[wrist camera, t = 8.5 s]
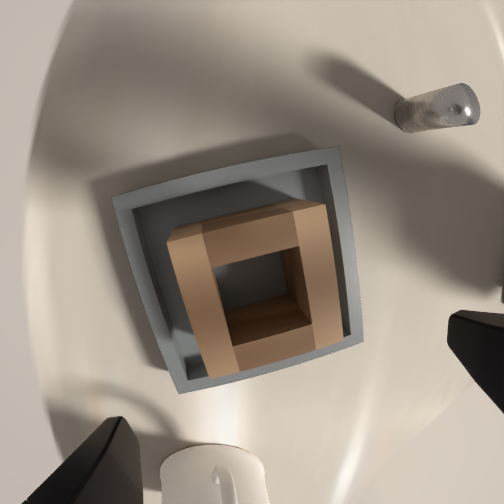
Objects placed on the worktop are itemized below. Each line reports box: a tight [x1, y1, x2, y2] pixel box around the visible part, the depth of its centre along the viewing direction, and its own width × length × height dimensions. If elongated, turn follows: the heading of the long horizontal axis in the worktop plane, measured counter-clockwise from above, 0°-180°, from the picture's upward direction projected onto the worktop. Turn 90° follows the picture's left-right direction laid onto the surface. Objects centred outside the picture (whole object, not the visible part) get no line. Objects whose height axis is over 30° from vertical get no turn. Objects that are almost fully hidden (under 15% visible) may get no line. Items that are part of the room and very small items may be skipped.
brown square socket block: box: [166, 198, 344, 379], centre depth 15 cm, size 6×6×4 cm
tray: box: [112, 146, 364, 394], centre depth 16 cm, size 11×11×2 cm
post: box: [394, 83, 480, 133], centre depth 14 cm, size 2×2×6 cm
